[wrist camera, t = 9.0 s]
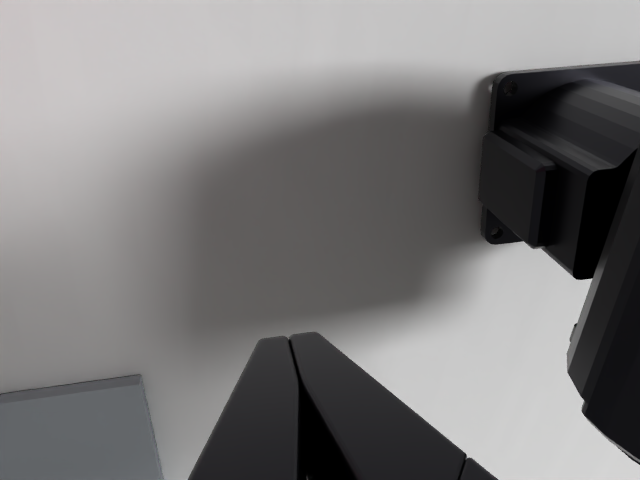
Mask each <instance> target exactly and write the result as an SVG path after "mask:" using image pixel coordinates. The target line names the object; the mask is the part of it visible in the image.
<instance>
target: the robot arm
mask: <svg viewBox="0 0 640 480" xmlns="http://www.w3.org/2000/svg"><path fill="white" fill-rule="evenodd" d="M510 81H512V85H513V86H512V89H511V90H510V91H509V92H508V93H506V94H505V93H504V87H505V85H506V84H507V83H508V82H510ZM478 199H479V201H480V202H481V203H482V204H483V207H482V220H481V235H482V236H483V238H484V239H485V240H486V241H487V242H489V243H490V244H504V243H513V242H521V241H524V242H525V243H526V244H527V245H528V246H530V247H531V248H533V249H538V248H541V249H542V250H543V251H545V252H546V253H547V254H548V255H549V256H550V257H551V258H552V259H554V260H555V261H556V262H557V263H558V264H559V265H560V266H562V267H563V268H564V269H565V270H566V271H567V272H568V273H570V274H571V275H572V276H573V277H574V278H575V279H578V280H583V279H591V278H593V279H592V282H591V285H590V288H589V291H588V294H587V297H586V300H585V303H584V305H583V308H582V311H581V314H580V317H579V320H578V323H576V324H575V325H574V328H573V331H572V333H571V336H570V342H571V343H570V346H569V349H568V352H567V371H568V374H569V376H570V378H571V380H572V381H573V383H574V385H575V387H576V388H577V390H578V392H579V394H580V396H581V397H582V398H583V399H584V403H583V405H582V413H583V414H584V416H585V417H586V418H587V420H588V421H589V422H590V423H591V424H592V425H593V426H594V427H595V428H596V429H597V430H598V431H599V432H600V433H601V434H602V435H604V436H605V437H606V438H607V439H608V440H609V441H610V442H611V443H613V444H614V445H616V446H617V447H618V448H619V449H620V450H621V451H622V452H624V453H625V454H626V455H627V456H628V457H629V458H630V459H632V460H633V461H635V462H636V463H638V464H639V465H640V61H636V62H623V63H611V64H598V65H585V66H573V67H560V68H548V69H535V70H523V71H510V72H504V73H501V74H500V75H499V76H497V78H496V79H495V80H494V82H493V86H492V95H491V108H490V120H489V131H488V132H487V133H486V135H485V136H484V137H483V144H482V157H481V170H480V183H479V196H478ZM496 227H499V230H498V231H497V232H496V233H495V234H493V235H491V232H492V230H493V229H494V228H496ZM188 480H498V479H497V478H496V477H494V476H493V475H492V474H490V473H489V472H488V471H487V470H486V469H484V468H483V467H482V466H481V465H479V464H478V463H477V462H476V461H475V460H473V459H472V458H467V455H466V453H464V452H463V451H462V450H461V449H459V448H458V447H457V446H456V445H455V444H453V443H452V442H451V441H450V440H448V439H447V438H446V437H445V436H444V435H442V434H441V433H440V432H439V431H437V430H436V429H435V428H434V427H433V426H431V425H430V424H429V423H428V422H426V421H425V420H424V419H423V418H422V417H420V416H419V415H418V414H417V413H415V412H414V411H413V410H412V409H411V408H409V407H408V406H407V405H406V404H404V403H403V402H402V401H401V400H400V399H398V398H397V397H396V396H395V395H393V394H392V393H391V392H390V391H389V390H387V389H386V388H385V387H384V386H382V385H381V384H380V383H379V382H378V381H376V380H375V379H374V378H373V377H371V376H370V375H369V374H368V373H367V372H365V371H364V370H363V369H362V368H360V367H359V366H358V365H357V364H356V363H354V362H353V361H352V360H351V359H349V358H348V357H347V356H346V355H345V354H343V353H342V352H341V351H340V350H338V349H337V348H336V347H335V346H334V345H332V344H331V343H330V342H329V341H327V340H326V339H325V338H324V337H323V336H321V335H320V334H319V333H317V332H308V333H301V334H294V335H291V336H290V337H289V340H288V338H287V337H285V336H279V337H271V338H264V339H261V340H259V341H258V343H257V345H256V347H255V349H254V351H253V353H252V355H251V357H250V358H249V360H248V362H247V364H246V366H245V368H244V370H243V372H242V374H241V376H240V378H239V380H238V382H237V384H236V386H235V388H234V390H233V392H232V394H231V396H230V398H229V400H228V402H227V404H226V406H225V407H224V409H223V411H222V413H221V415H220V417H219V419H218V421H217V423H216V425H215V427H214V429H213V431H212V433H211V435H210V437H209V439H208V441H207V443H206V445H205V447H204V449H203V451H202V453H201V455H200V456H199V458H198V460H197V462H196V464H195V466H194V468H193V470H192V472H191V474H190V476H189V478H188Z"/></svg>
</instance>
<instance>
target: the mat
mask: <svg viewBox="0 0 640 480" xmlns="http://www.w3.org/2000/svg"><path fill="white" fill-rule="evenodd" d="M0 480H164V479H163V474H162V470H161V465H160V460H159V456H158V451H157V447H156V442H155V437H154V433H153V428H152V424H151V419H150V414H149V410H148V405H147V401H146V396H145V391H144V387H143V382H142V378H141V375H135V376H128V377H120V378H113V379H106V380H99V381H92V382H84V383H77V384H70V385H63V386H56V387H48V388H41V389H34V390H27V391H19V392H12V393H5V394H0Z"/></svg>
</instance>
